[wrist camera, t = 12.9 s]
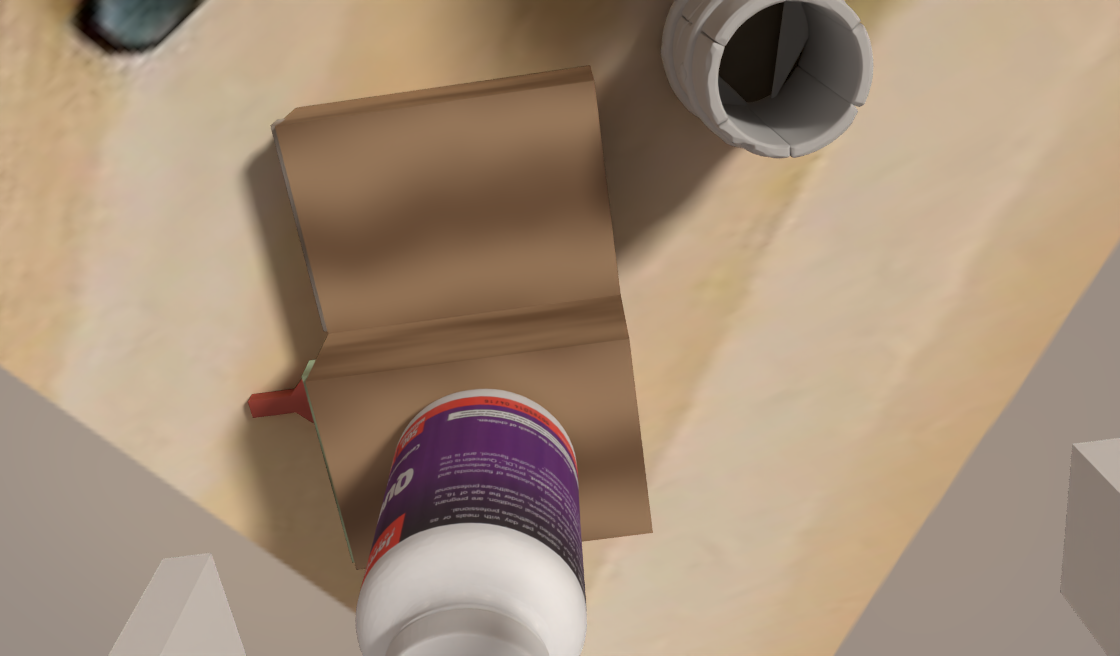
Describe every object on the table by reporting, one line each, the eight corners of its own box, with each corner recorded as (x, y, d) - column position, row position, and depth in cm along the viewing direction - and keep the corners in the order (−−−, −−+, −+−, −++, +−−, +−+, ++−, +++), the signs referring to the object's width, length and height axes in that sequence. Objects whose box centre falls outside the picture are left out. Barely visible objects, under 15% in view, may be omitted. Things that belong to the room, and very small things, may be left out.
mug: (632, 90, 47) (661, 152, 36) (734, -174, 42) (802, -195, 31) (779, 144, 48) (850, 220, 37) (894, -107, 43) (1013, -106, 32)
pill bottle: (396, 373, 42) (331, 591, 29) (583, 383, 43) (602, 603, 30) (396, 530, 46) (337, 790, 33) (569, 538, 46) (581, 798, 33)
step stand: (171, 125, 47) (93, 176, 39) (590, 65, 46) (600, 103, 38) (278, 481, 55) (231, 585, 47) (635, 435, 54) (652, 532, 46)
